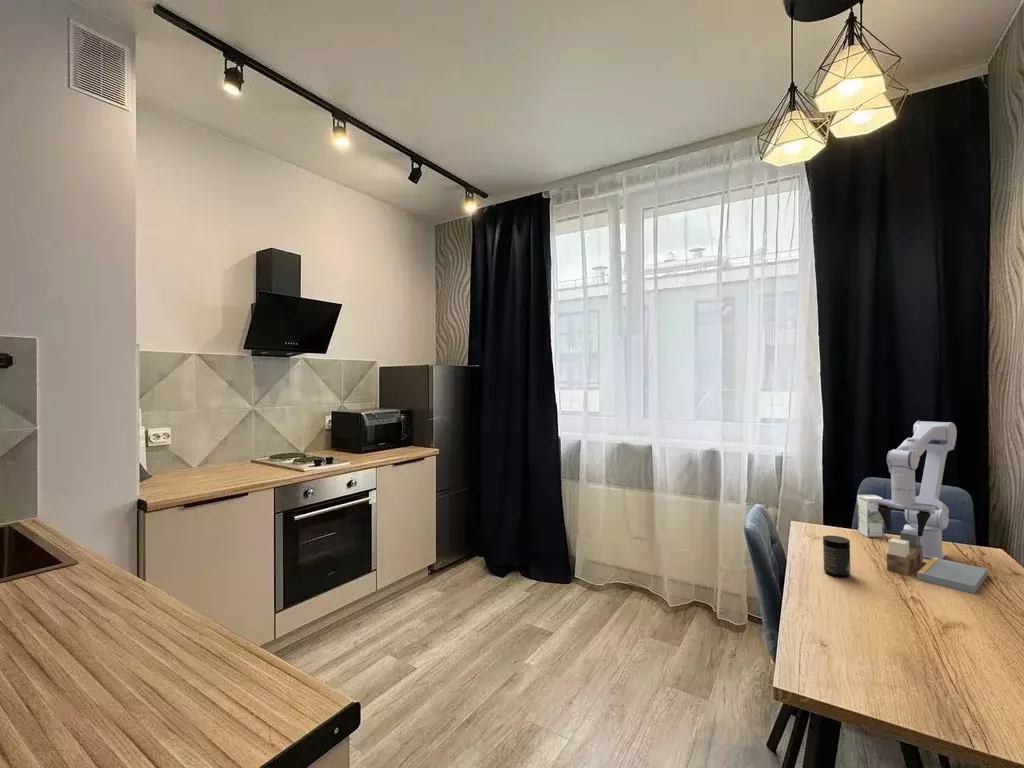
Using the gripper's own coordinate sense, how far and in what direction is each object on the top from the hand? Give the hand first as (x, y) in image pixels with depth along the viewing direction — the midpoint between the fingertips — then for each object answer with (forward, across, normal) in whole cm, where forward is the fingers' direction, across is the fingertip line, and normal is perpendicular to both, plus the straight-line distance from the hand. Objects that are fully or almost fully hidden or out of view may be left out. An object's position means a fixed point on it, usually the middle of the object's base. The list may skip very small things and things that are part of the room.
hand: (904, 532), depth 146 cm
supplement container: (+10, -11, -22) cm, 27 cm away
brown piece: (+10, 0, 0) cm, 10 cm away
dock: (+10, +11, -1) cm, 15 cm away
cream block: (+5, 0, -6) cm, 8 cm away
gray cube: (+5, 0, +6) cm, 8 cm away
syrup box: (+10, -16, +26) cm, 32 cm away
